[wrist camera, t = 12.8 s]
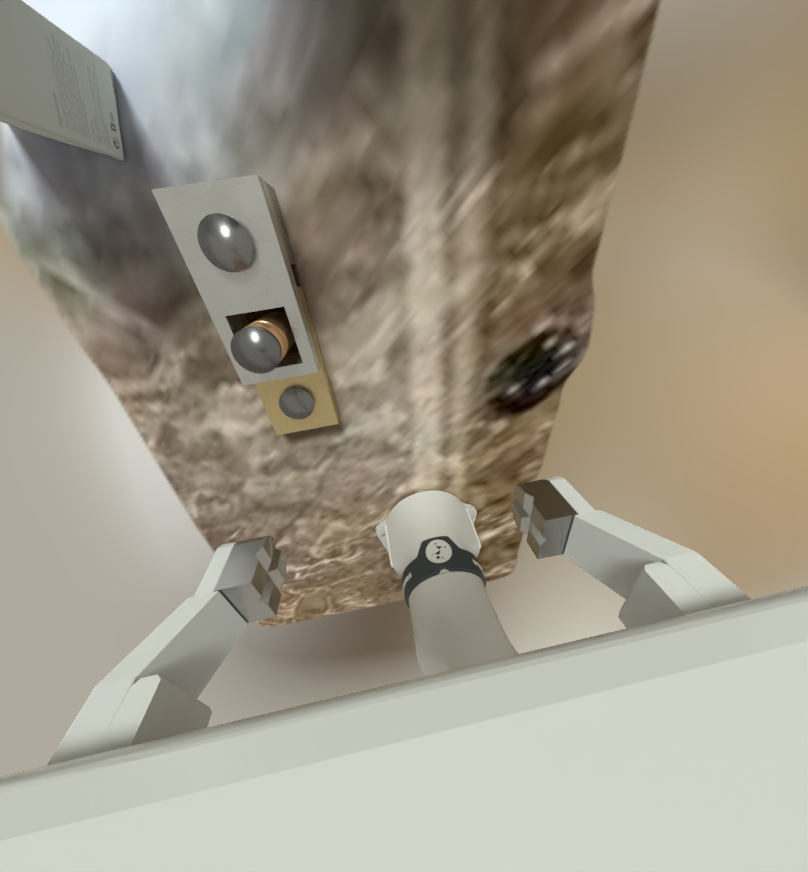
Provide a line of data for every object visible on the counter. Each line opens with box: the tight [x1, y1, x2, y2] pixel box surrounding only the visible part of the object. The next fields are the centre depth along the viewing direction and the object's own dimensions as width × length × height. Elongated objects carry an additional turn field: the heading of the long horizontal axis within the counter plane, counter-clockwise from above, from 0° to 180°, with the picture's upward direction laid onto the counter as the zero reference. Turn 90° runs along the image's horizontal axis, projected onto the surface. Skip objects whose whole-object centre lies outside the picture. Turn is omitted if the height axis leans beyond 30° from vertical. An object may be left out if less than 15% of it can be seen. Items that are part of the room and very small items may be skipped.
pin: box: [231, 311, 295, 374], centre depth 29 cm, size 4×4×9 cm
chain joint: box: [151, 175, 339, 435], centre depth 30 cm, size 24×8×6 cm, turn 8°
